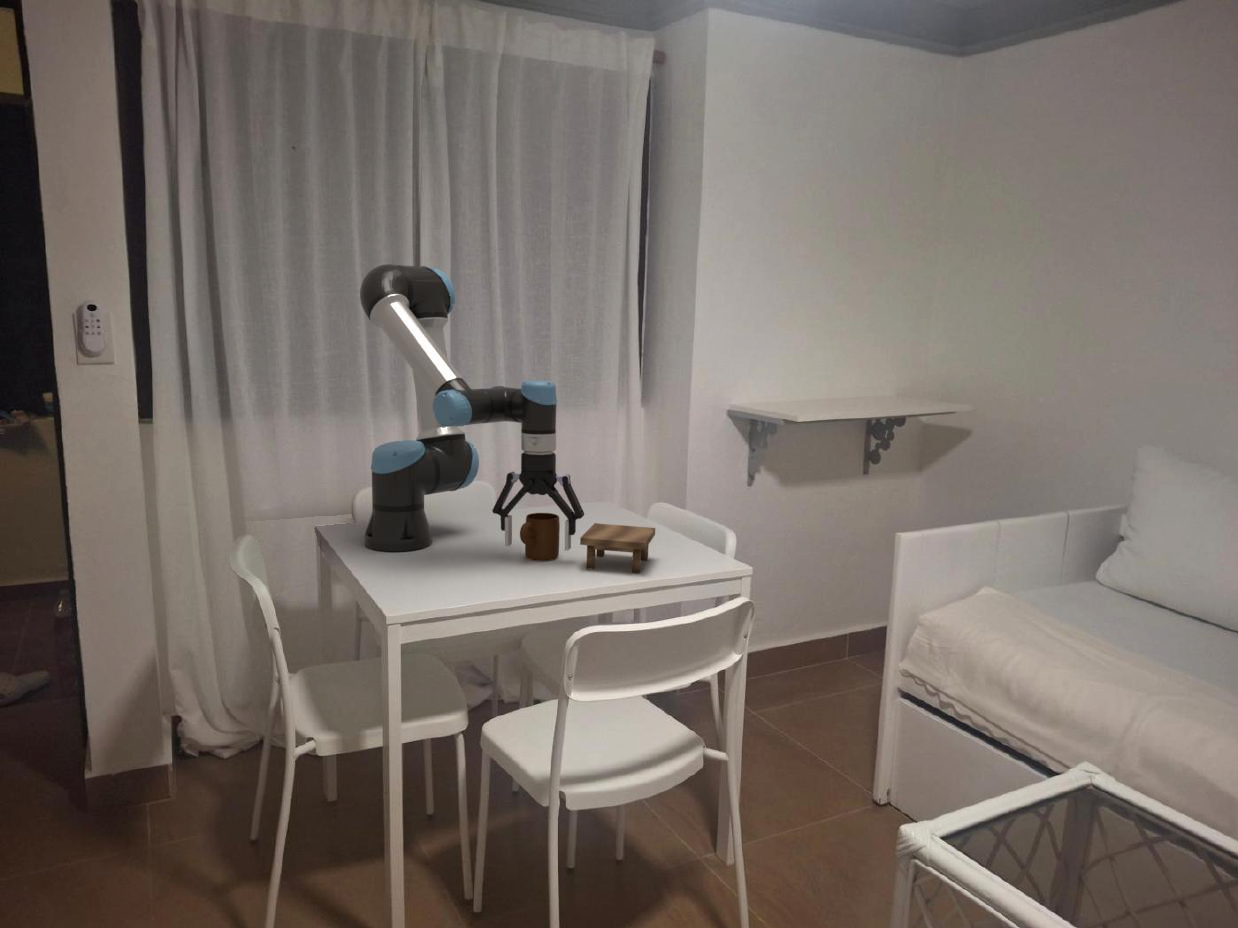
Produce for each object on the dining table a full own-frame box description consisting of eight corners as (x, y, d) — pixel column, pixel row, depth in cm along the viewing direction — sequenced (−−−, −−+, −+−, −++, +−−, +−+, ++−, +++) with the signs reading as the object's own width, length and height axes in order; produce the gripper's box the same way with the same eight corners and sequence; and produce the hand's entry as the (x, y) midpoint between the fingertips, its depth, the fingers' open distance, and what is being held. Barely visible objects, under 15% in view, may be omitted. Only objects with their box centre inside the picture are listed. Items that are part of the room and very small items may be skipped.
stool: (579, 569, 193) (580, 537, 192) (593, 552, 207) (594, 523, 206) (643, 575, 191) (645, 543, 189) (654, 558, 204) (655, 527, 203)
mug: (535, 568, 193) (536, 525, 191) (506, 562, 197) (507, 520, 195) (565, 556, 203) (566, 515, 202) (537, 550, 207) (537, 510, 205)
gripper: (477, 451, 195) (478, 547, 198) (590, 457, 190) (589, 555, 193) (489, 447, 202) (489, 539, 205) (598, 452, 197) (596, 546, 201)
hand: (537, 547), depth 199 cm, fingers open, 13 cm apart
